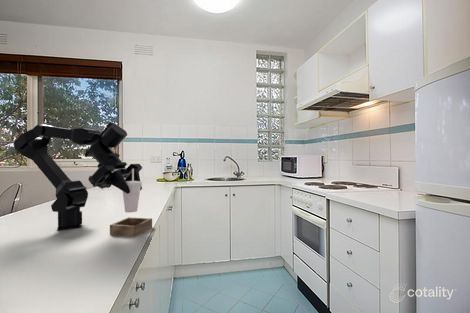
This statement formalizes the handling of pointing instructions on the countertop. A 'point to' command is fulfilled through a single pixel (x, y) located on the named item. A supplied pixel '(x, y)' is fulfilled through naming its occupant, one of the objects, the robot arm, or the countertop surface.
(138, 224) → the socket block
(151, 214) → the countertop surface
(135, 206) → the smoothie
